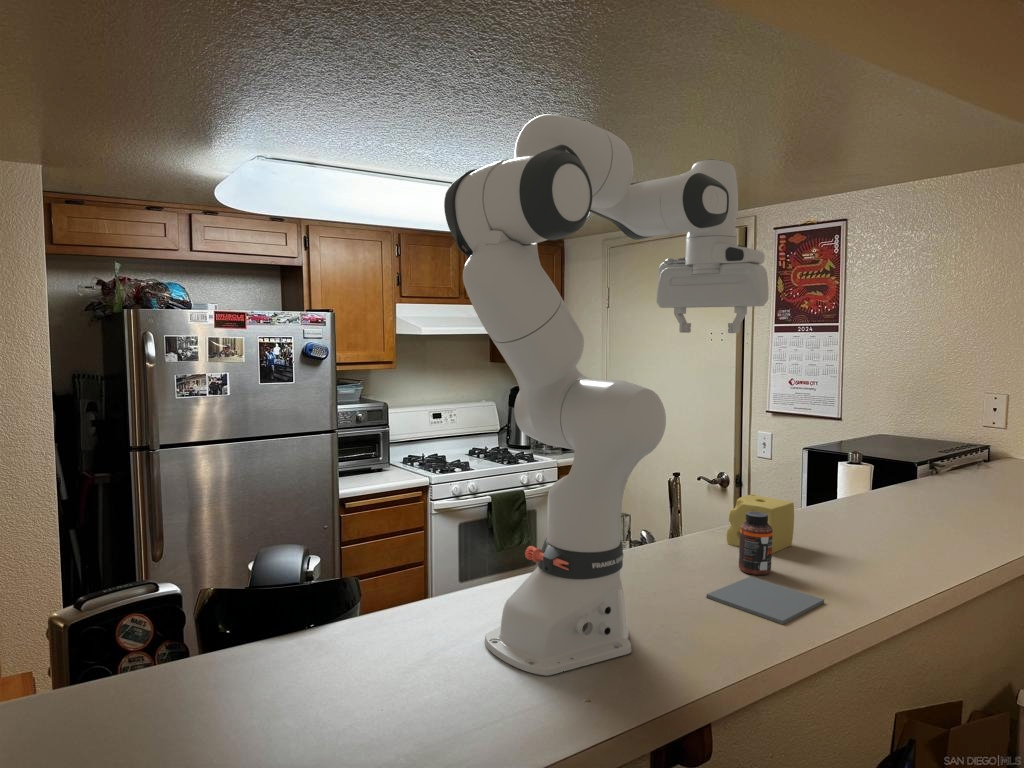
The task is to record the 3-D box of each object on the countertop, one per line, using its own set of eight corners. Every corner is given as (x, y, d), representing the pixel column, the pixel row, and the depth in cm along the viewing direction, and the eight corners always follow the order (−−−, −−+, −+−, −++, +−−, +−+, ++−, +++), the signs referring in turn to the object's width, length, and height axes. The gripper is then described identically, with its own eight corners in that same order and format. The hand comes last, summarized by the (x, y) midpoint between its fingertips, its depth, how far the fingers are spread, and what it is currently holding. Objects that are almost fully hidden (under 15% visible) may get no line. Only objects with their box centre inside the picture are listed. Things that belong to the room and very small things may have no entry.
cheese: (725, 544, 149) (727, 499, 149) (751, 535, 156) (752, 492, 156) (770, 556, 142) (772, 509, 141) (795, 546, 149) (797, 501, 148)
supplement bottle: (773, 577, 129) (776, 518, 128) (740, 574, 130) (742, 516, 129) (768, 567, 135) (770, 510, 134) (736, 564, 136) (738, 508, 135)
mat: (782, 624, 108) (782, 620, 108) (706, 597, 119) (706, 594, 119) (824, 602, 117) (824, 599, 117) (750, 579, 128) (750, 576, 128)
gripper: (650, 258, 127) (649, 332, 128) (759, 250, 113) (756, 333, 114) (667, 260, 132) (666, 332, 133) (773, 253, 118) (770, 333, 119)
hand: (708, 332), depth 123 cm, fingers open, 8 cm apart
